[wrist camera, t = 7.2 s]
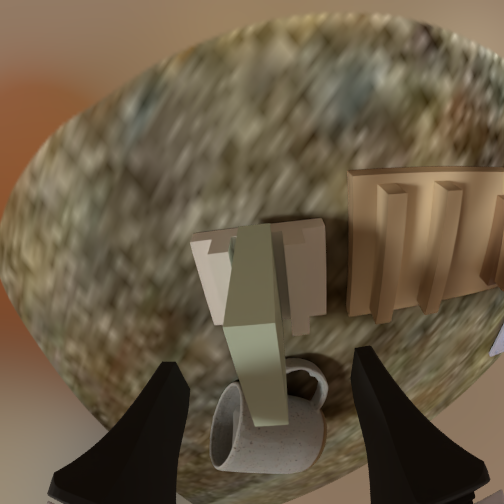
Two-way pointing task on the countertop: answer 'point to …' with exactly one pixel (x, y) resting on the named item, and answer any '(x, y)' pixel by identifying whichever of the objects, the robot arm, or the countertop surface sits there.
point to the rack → (417, 236)
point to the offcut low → (494, 244)
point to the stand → (287, 267)
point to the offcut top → (500, 268)
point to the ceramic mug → (270, 431)
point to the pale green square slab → (257, 326)
